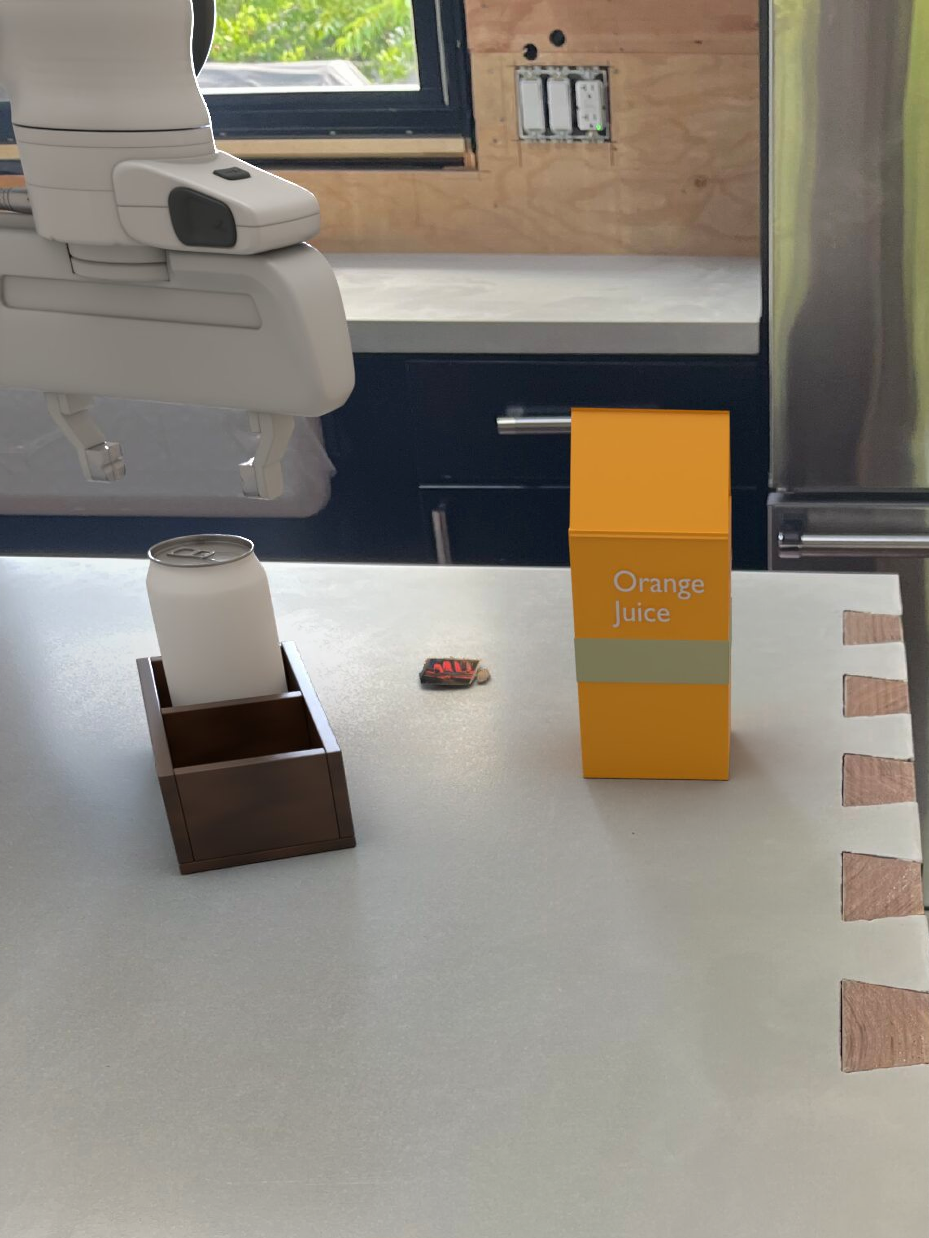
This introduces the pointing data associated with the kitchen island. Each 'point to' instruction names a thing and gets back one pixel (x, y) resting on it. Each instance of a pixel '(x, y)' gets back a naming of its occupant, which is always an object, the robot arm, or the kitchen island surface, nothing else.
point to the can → (214, 619)
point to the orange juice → (652, 591)
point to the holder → (248, 772)
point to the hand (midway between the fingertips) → (184, 488)
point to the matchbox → (452, 671)
